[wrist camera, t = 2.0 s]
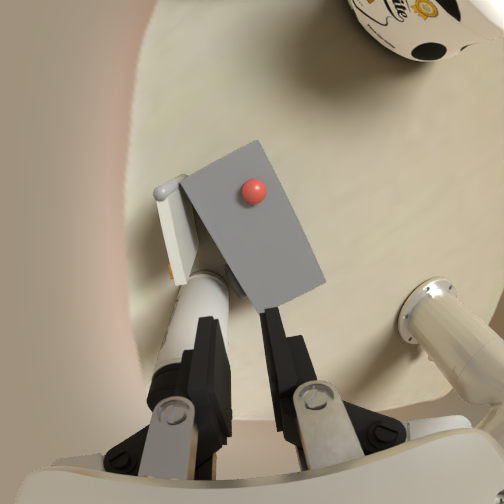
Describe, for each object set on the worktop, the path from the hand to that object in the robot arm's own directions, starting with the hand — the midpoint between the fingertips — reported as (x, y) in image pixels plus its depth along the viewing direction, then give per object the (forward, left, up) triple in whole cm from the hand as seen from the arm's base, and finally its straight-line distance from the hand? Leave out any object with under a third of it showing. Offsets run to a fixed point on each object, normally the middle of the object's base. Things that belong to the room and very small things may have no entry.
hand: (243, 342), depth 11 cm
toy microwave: (-1, -1, -23) cm, 23 cm away
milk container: (+17, -32, -23) cm, 43 cm away
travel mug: (-7, +8, -23) cm, 26 cm away
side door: (+3, +5, -23) cm, 24 cm away
